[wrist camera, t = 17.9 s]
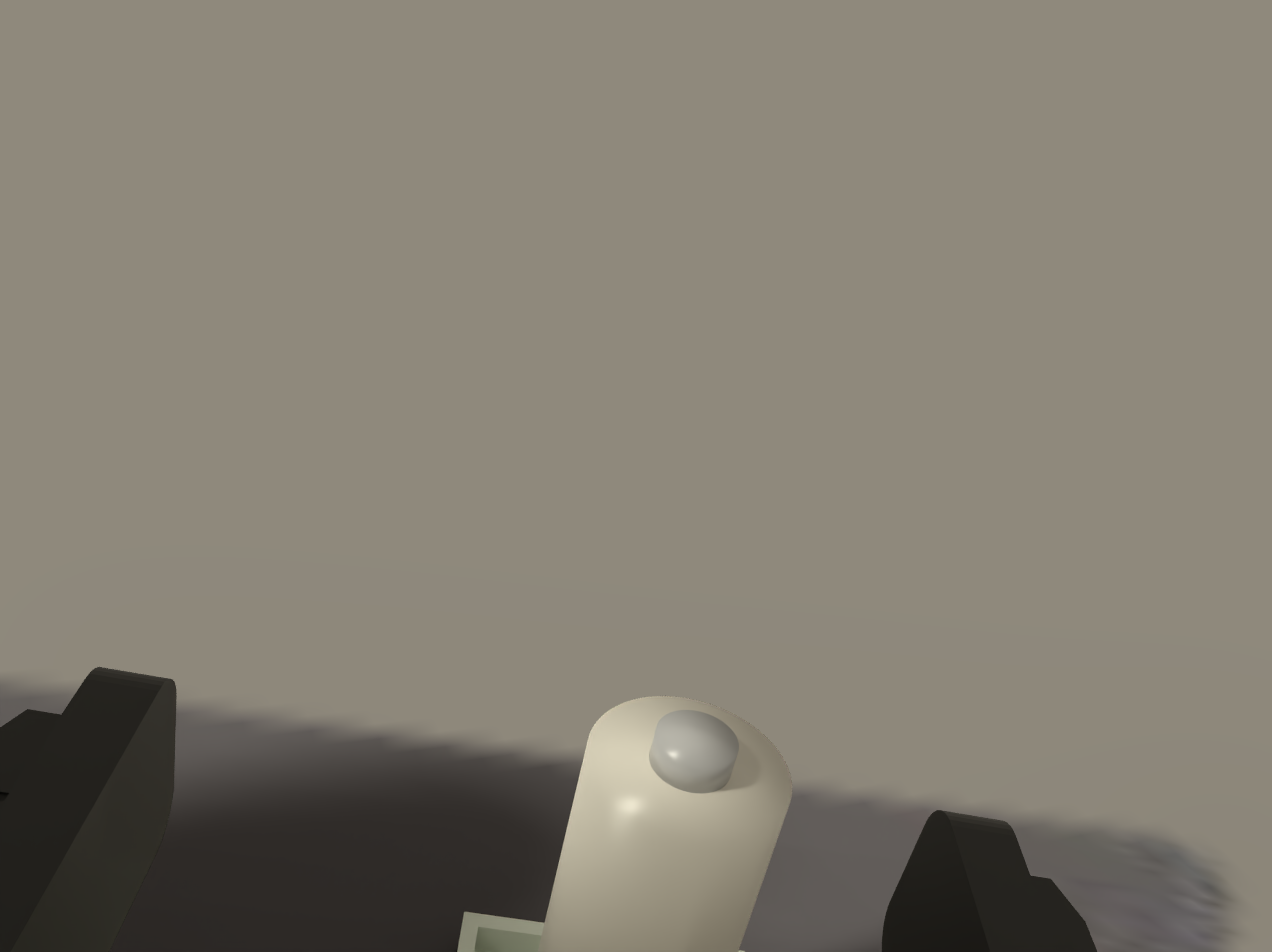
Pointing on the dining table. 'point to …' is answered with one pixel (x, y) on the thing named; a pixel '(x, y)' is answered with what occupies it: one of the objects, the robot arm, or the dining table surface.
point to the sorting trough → (499, 934)
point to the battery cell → (667, 831)
